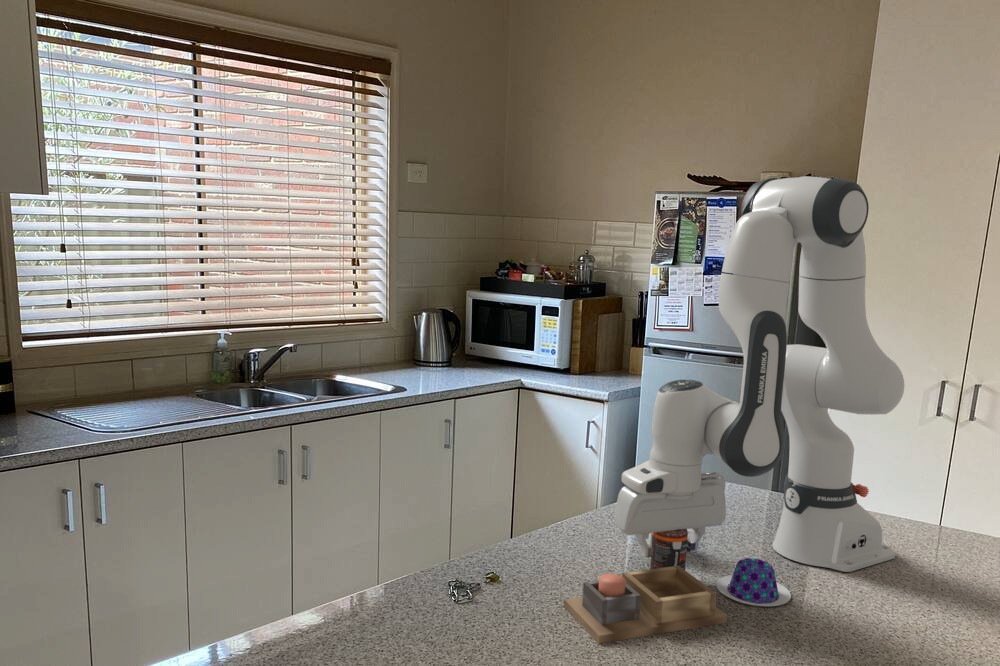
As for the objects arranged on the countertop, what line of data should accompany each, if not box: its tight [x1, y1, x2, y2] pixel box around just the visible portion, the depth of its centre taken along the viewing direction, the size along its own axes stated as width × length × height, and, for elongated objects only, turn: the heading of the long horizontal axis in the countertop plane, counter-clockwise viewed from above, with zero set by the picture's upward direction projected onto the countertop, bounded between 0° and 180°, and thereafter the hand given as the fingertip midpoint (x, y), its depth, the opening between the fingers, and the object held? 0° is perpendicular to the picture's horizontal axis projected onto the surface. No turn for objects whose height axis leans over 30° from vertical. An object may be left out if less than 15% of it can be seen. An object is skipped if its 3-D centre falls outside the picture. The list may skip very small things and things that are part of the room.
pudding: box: [716, 557, 792, 607], centre depth 138 cm, size 12×12×5 cm
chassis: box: [563, 566, 728, 644], centre depth 129 cm, size 22×12×5 cm, turn 111°
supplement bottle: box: [649, 529, 689, 571], centre depth 142 cm, size 6×6×11 cm
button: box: [598, 573, 626, 598], centre depth 126 cm, size 4×4×3 cm
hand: (668, 553), depth 142 cm, fingers open, 8 cm apart
